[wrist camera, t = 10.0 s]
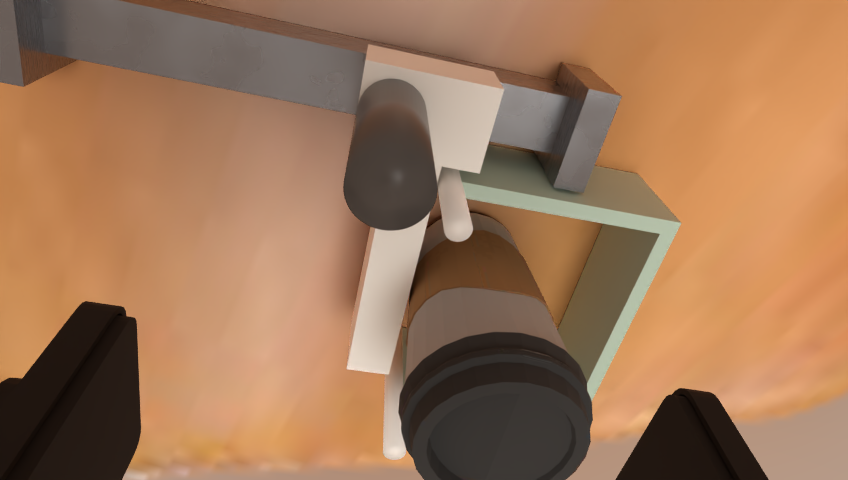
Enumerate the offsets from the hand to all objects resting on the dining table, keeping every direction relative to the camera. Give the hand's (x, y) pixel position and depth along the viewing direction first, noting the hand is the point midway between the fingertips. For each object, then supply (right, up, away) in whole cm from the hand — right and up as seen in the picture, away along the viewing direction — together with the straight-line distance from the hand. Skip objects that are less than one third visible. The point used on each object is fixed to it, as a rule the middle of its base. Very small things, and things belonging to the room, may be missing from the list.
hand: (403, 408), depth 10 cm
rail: (-5, +12, +20) cm, 24 cm away
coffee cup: (+3, +2, +26) cm, 26 cm away
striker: (-1, +5, +22) cm, 22 cm away
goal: (+5, +2, +26) cm, 27 cm away
